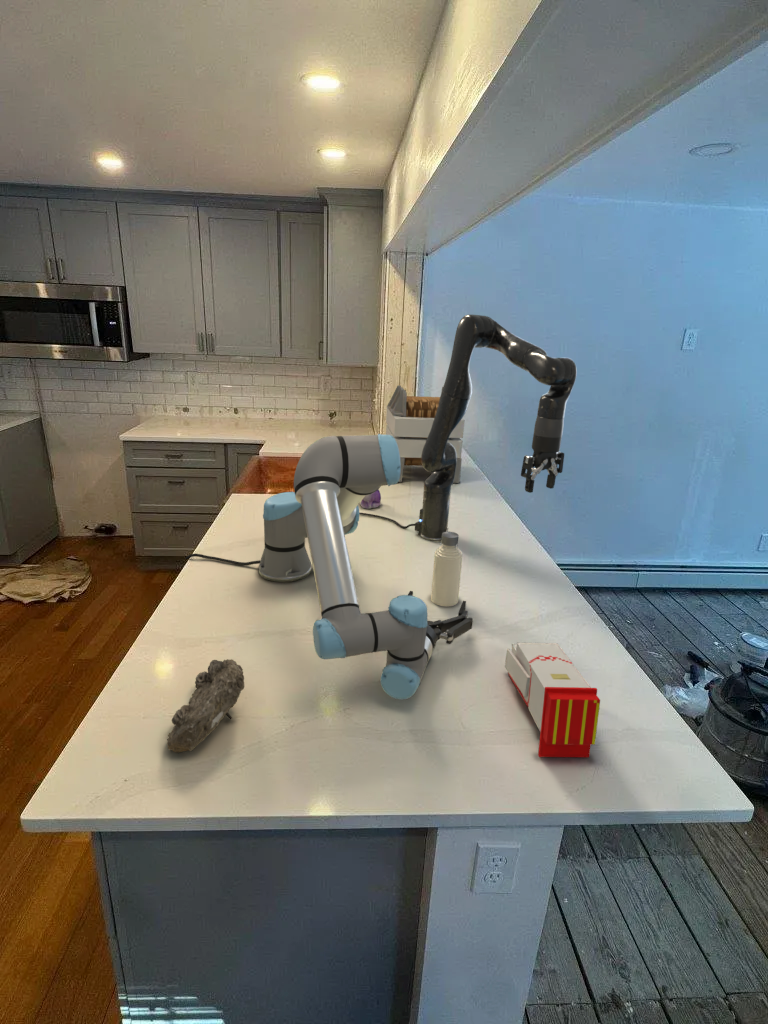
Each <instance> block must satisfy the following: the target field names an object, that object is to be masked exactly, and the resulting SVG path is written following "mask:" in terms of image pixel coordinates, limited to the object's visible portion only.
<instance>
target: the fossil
mask: <svg viewBox="0 0 768 1024" xmlns="http://www.w3.org/2000/svg"><path fill="white" fill-rule="evenodd" d="M243 670H244V669H243V667H242V665H240V664H237V662H236V661H235V660H234V659H232V658H231V659H227V658H226V659H224V660H223V661H222V660H217V659H212V660H211V661H210V663H209V665H208V666H207V671H201V672H199V673H198V674H197V675H196V676H195V680H194V684H195V685H194V687H195V689H194V690H193V693H192V694H191V697H190V698H189V700H188V704H184V705H182V706H181V707H180V709H177V710H176V711H175V713H174V715H173V716H172V718H171V723H172V724H173V727H172V730H171V731H170V732H168V734H167V738H166V741H167V742H166V745H167V749H168V750H169V751H173V752H174V753H176V754H178V753H182V752H188V751H189V752H192V751H193V750H195V748H196V747H197V746H199V744H200V743H201V742H203V741H204V740H205V739H206V738H207V737H208V736H209V735H210V734H211V733H212V732H214V730H215V729H217V727H218V726H219V724H220V722H221V721H222V720H223V719H224V718H225V716H226V717H227V719H229V720H233V717H232V715H230V714H229V710H230V709H231V708H234V706H235V704H236V703H237V702H238V699H239V697H240V695H241V693H242V691H243V690H245V689H244V688H245V675H244V671H243Z"/></svg>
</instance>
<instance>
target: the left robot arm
mask: <svg viewBox="0 0 768 1024" xmlns="http://www.w3.org/2000/svg"><path fill="white" fill-rule="evenodd" d="M400 471H401V464H400V454H399V449H398V445H397V442H396V440H395V439H394V437H393V436H391V435H386V434H381V433H377V434H363V435H360V434H359V435H327V436H322V437H321V438H318V439H317V440H315V441H313V442H312V443H311V444H310V445H308V447H307V448H306V449H305V450H304V452H303V453H302V455H301V456H300V458H299V460H298V462H297V465H296V468H295V470H294V475H293V476H294V477H293V490H294V491H285V492H280V493H279V492H278V493H276V494H273V495H271V496H270V497H268V498H267V499H266V500H265V502H264V504H263V514H262V519H263V535H264V536H263V539H264V541H263V542H264V548H263V551H262V554H261V557H260V559H259V560H252V561H246V562H245V561H243V562H242V561H236V560H233V559H226V558H222V557H217V556H211V555H207V554H206V555H205V554H202V553H191V554H188V555H187V556H186V557H185V558H184V560H189V559H191V558H195V557H198V558H203V559H205V560H206V559H207V560H212V561H213V560H214V561H219V562H223V563H228V564H231V565H238V566H251V565H257V564H258V573H259V575H260V577H262V578H263V579H265V580H267V581H271V582H276V583H291V582H296V581H300V580H303V579H305V578H307V577H308V576H309V575H310V574H311V572H312V570H313V576H314V581H315V587H316V592H317V598H318V599H317V600H318V604H319V609H320V615H321V618H320V619H317V620H315V621H314V623H313V624H312V636H313V646H314V650H315V653H316V656H317V657H318V658H319V659H321V660H333V659H335V660H336V659H345V658H348V657H349V658H350V657H355V656H360V655H366V654H373V653H379V652H385V651H386V663H385V666H384V667H383V669H382V672H381V675H380V680H379V681H380V685H381V688H382V690H383V691H384V692H385V694H386V695H388V696H389V697H391V698H392V699H395V700H400V701H401V700H407V699H409V698H412V697H413V696H414V695H415V693H416V691H417V690H418V688H419V687H420V686H421V680H422V678H423V676H424V673H425V671H426V668H427V667H428V663H429V661H430V658H431V656H432V654H433V652H434V649H435V647H436V645H437V642H438V641H439V640H444V641H445V642H446V644H448V645H451V644H452V643H453V642H454V640H456V639H457V638H459V637H461V636H462V635H464V634H465V633H467V632H469V631H470V630H472V628H473V623H474V622H473V621H474V618H473V617H468V613H469V611H468V610H467V609H466V605H467V600H462V602H461V606H460V608H459V609H458V613H457V616H453V617H450V618H447V619H444V620H441V619H438V620H433V621H432V620H428V606H427V604H426V602H424V600H423V599H422V598H420V597H418V596H416V595H415V596H414V591H413V590H409V592H408V593H407V594H402V595H401V594H400V595H398V596H396V597H394V598H392V599H391V600H390V602H389V605H388V608H387V610H382V611H381V610H380V611H373V612H366V613H361V608H360V602H359V598H358V592H357V589H356V584H355V583H356V582H355V578H354V573H353V570H352V564H351V558H350V555H349V549H348V545H347V539H346V535H350V534H352V533H354V532H355V531H356V530H357V528H358V526H359V521H360V514H359V513H360V507H359V505H360V503H361V501H362V499H363V498H364V497H365V496H366V495H370V494H372V493H374V492H376V491H377V490H378V489H379V490H380V488H381V487H383V486H388V487H390V486H394V485H397V484H398V483H399V482H398V481H399V478H400ZM306 539H307V542H308V548H309V553H310V554H308V551H307V548H306ZM309 555H310V557H309ZM310 559H311V560H310Z"/></svg>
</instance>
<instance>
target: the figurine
mask: <svg viewBox="0 0 768 1024" xmlns="http://www.w3.org/2000/svg"><path fill="white" fill-rule="evenodd" d="M381 500H382V495H381V491H380V488H379V489H378V490H377V491H376V492H374V493H372V494H370V495H366V496H365V497H364V498H363V499H362V501H361V502H360V503H359V505H360V506H361V508H363V509H368V510H369V509H375V508H378V507H379V506H380V505H381Z"/></svg>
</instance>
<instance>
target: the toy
mask: <svg viewBox="0 0 768 1024" xmlns="http://www.w3.org/2000/svg"><path fill="white" fill-rule="evenodd" d="M504 668H505V670H506V671H507V675H508V676H509V678H510V680H511V682H512V683H513V685H514V687H515V688H516V690H517V691H518V693H519V695H520V697H521V698H522V700H523V702H524V703H525V705H526V707H527V708H528V711H529V713H530V715H531V717H532V719H533V721H534V723H535V725H536V727H537V729H538V731H539V743H538V753H537V755H538V757H539V758H590V753H591V746H593V745H595V744H596V738H597V729H598V722H599V713H600V706H601V699H600V698H599V696H598V688H597V687H591V686H590V684H589V683H588V682H587V680H586V679H585V678H584V676H583V675H582V674H581V672H580V671H579V669H578V668H577V667H576V666H575V664H574V663H573V661H572V660H571V659H570V658H569V657H568V655H567V654H566V653H565V651H564V649H563V648H562V647H561V646H560V645H559V643H556V642H555V643H554V642H516V643H511V648H507V649H506V654H505V662H504Z"/></svg>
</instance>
